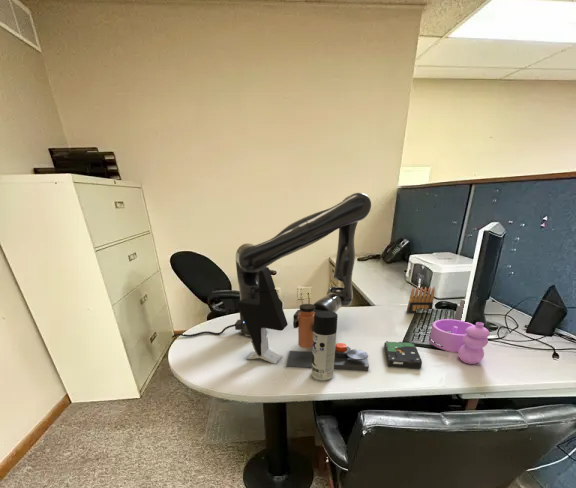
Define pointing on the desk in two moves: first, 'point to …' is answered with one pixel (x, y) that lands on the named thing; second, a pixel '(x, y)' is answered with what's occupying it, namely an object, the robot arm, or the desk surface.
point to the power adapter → (459, 310)
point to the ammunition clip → (420, 299)
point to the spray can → (324, 345)
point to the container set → (460, 338)
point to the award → (263, 316)
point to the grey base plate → (349, 362)
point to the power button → (341, 347)
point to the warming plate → (357, 354)
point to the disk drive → (402, 355)
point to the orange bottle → (306, 325)
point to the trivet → (299, 359)
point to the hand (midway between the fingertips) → (304, 327)
